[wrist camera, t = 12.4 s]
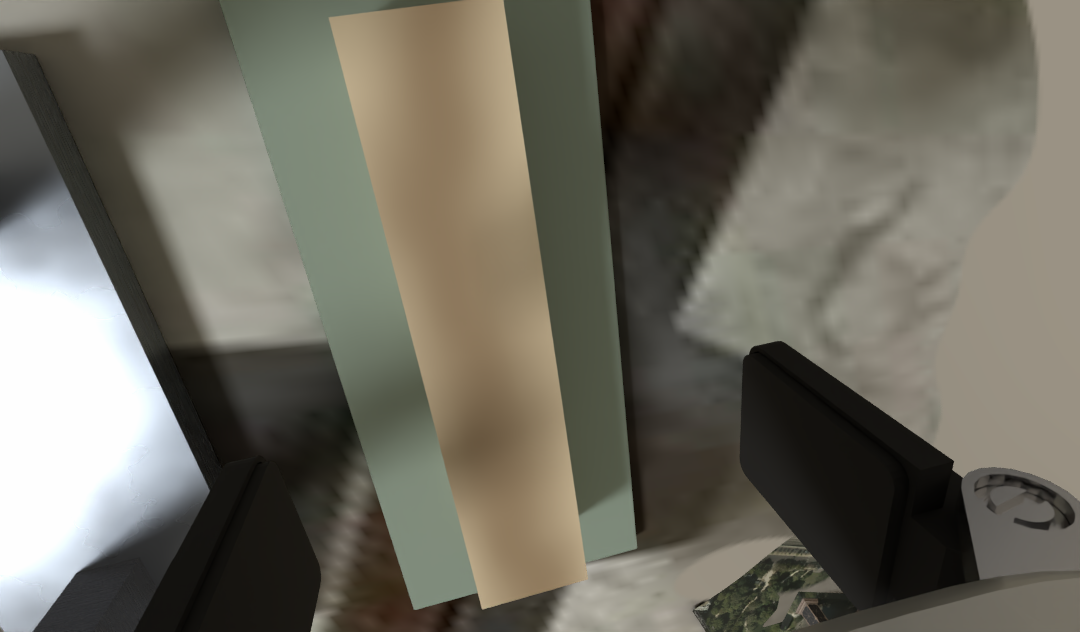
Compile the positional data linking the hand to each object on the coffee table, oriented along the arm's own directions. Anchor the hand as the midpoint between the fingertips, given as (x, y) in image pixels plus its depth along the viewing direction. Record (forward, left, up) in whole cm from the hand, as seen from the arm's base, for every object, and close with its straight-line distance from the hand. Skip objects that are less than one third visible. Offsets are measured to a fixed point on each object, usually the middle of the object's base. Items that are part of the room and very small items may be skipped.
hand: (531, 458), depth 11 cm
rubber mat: (0, +1, -9) cm, 9 cm away
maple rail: (0, +1, -9) cm, 9 cm away
